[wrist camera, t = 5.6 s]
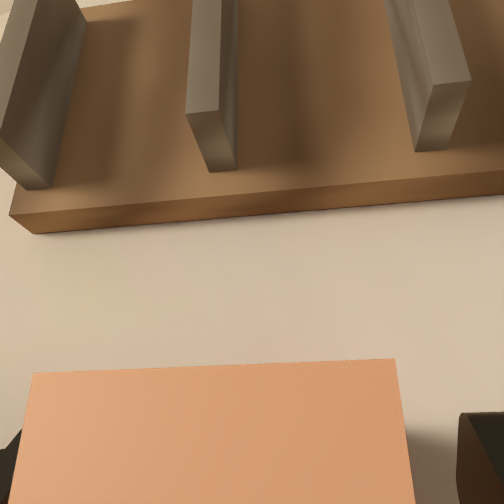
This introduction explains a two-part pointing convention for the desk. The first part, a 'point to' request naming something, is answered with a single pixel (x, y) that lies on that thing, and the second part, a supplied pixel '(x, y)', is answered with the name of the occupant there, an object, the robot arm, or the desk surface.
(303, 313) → the desk surface
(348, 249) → the desk surface
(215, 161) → the walnut rack
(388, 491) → the terracotta block
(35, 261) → the desk surface
